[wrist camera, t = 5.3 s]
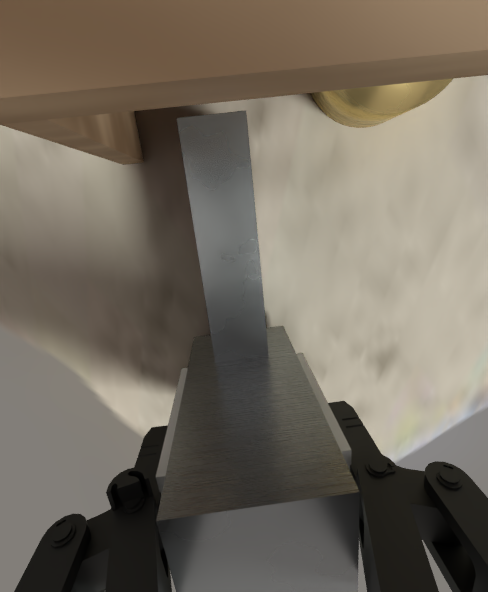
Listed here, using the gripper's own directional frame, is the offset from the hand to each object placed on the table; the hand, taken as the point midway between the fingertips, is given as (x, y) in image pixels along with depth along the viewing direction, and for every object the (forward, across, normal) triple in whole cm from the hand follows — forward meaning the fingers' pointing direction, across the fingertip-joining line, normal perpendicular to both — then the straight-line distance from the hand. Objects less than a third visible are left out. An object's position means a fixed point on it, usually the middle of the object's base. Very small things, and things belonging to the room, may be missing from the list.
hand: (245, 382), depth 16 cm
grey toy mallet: (+1, 0, +5) cm, 5 cm away
